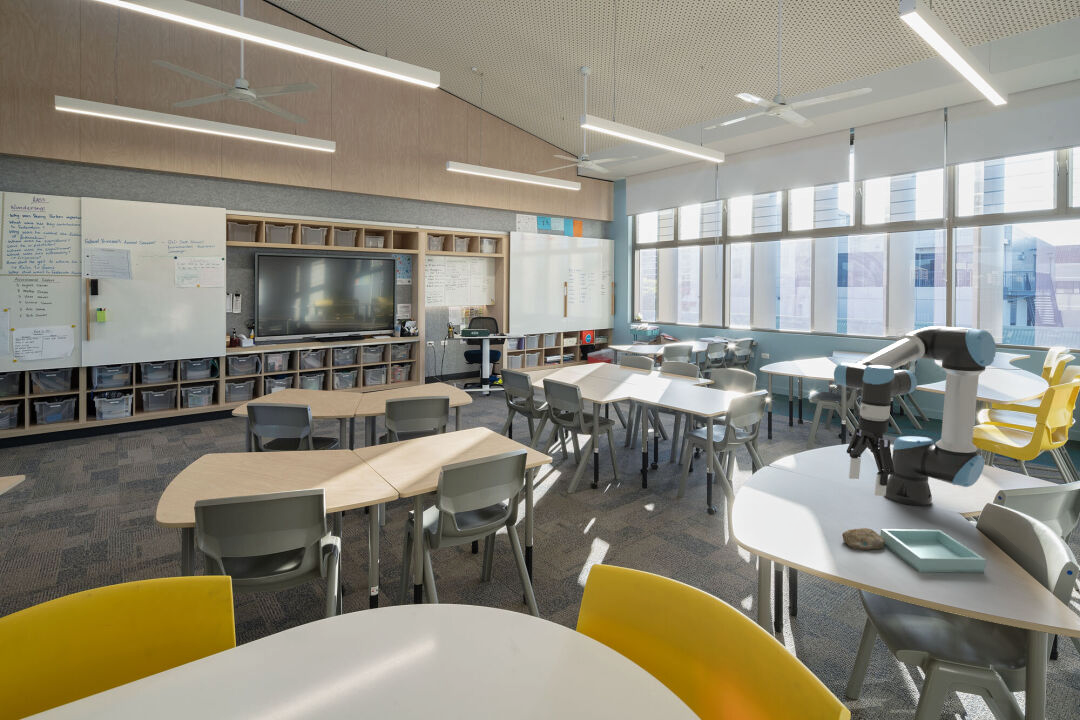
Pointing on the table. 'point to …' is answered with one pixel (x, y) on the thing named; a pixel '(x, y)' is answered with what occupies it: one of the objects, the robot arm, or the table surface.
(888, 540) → the tray
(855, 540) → the rock
